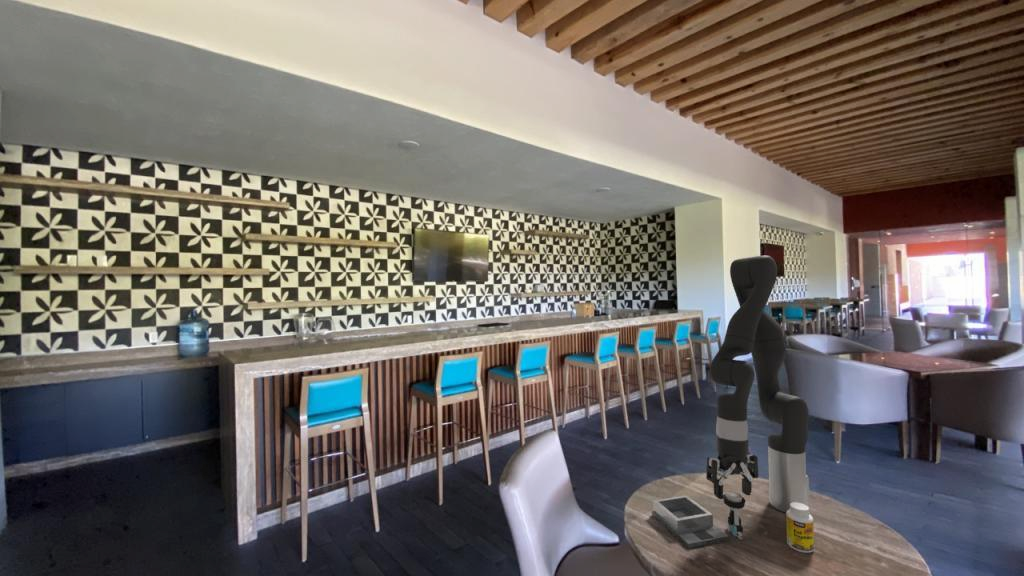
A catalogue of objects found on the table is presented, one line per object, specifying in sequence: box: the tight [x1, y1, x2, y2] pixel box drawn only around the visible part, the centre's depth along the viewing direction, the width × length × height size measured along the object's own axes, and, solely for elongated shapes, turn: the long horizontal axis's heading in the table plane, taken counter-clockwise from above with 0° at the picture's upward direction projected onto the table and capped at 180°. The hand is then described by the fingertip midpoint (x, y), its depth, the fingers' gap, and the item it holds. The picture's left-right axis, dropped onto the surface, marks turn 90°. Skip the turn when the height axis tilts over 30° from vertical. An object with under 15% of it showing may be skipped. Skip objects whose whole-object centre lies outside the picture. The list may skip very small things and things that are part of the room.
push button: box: [722, 491, 746, 540], centre depth 108 cm, size 7×5×10 cm
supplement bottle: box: [785, 502, 815, 554], centre depth 102 cm, size 6×6×10 cm
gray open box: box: [651, 495, 730, 550], centre depth 112 cm, size 12×16×4 cm
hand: (732, 495), depth 109 cm, fingers open, 8 cm apart
